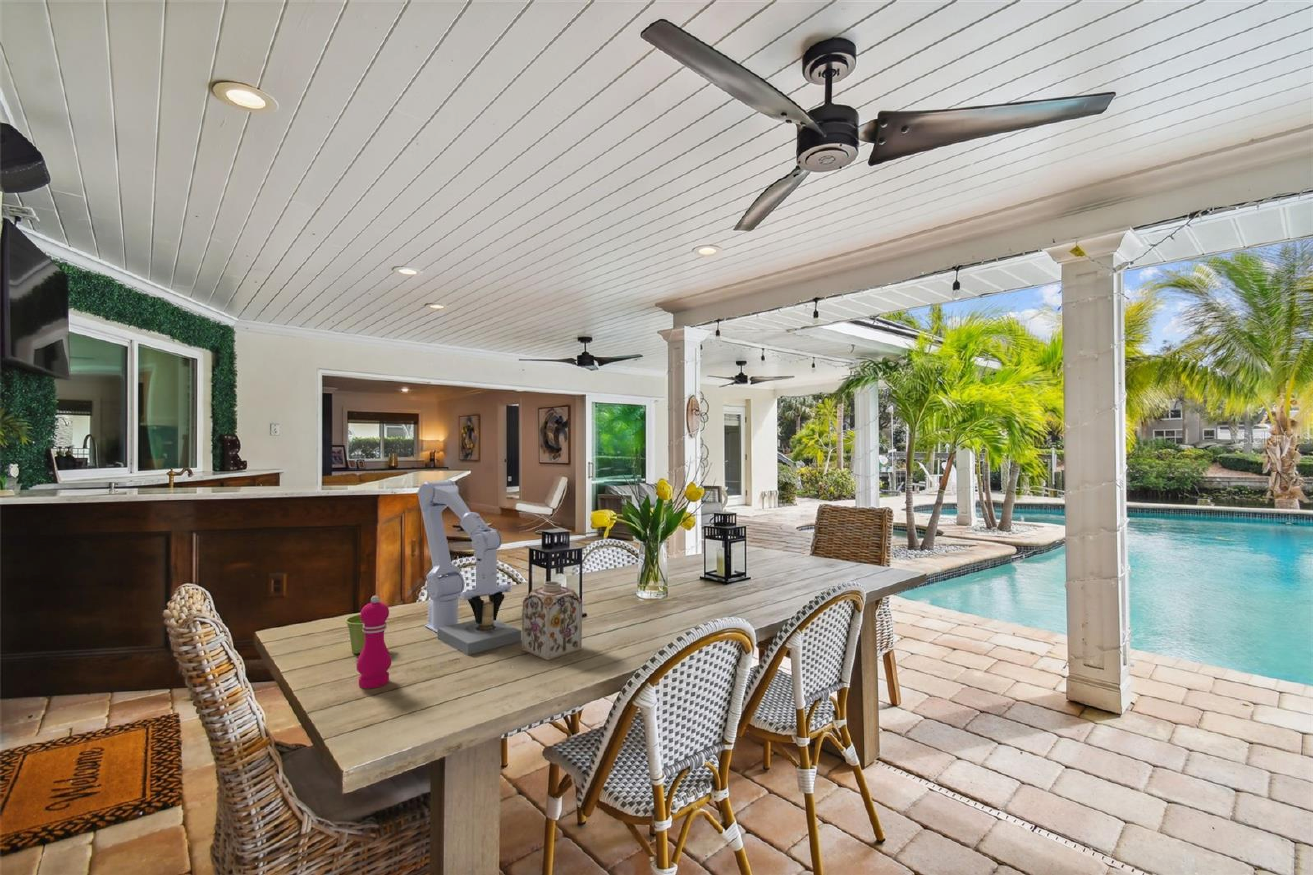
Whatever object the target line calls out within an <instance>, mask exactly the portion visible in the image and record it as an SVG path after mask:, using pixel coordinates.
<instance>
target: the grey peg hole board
mask: <svg viewBox="0 0 1313 875" xmlns="http://www.w3.org/2000/svg"><path fill="white" fill-rule="evenodd" d="M493 623H494V625H493V628H492V630H489V631H480V629H479V624H478V623H476V621H475V619H473V620H469V621H464V622H458V624H454V625H450V626H445V627H441V628H438V633H437V640H438V641H441V642H443V643H445V644H446V645H448V646H449V647H452V648H454V649H455V650H457V651H460V652H462V653H463V654H465V655H466V656H470V655H473V654H478V653H481V652H485V650H486V651H489V650H493V649H497V648H500V646H501V647H504V646H508V645H512V644H515V643H519V642H520V643H521V642H522V629H519V628H517V627H515V626H512V625H510V624H507V623H505V622H503V621H500V620H498V619H496V620H495V621H493Z"/></svg>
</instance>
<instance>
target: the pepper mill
mask: <svg viewBox="0 0 1313 875" xmlns="http://www.w3.org/2000/svg"><path fill="white" fill-rule="evenodd" d="M389 615H390V609H389V607H388V605H387V604H386V603H384V602H381V601H380V597H379V596H378V595H372V597H371V598H370V602H369V603H367V604H366V605H364V606H363V607H362V608H361V610H360V618H361V620H362V622H363V623H364V625H363V630H362V631H363V632H364V633H365V643H364V647H363V649H362V652H361V653H359V656H358V659H357V662H356V670H357V672H358V673H359V674H360V675H359V677H358V686H359V687H360V688H362V689H375V688H380V687H383V686H384V685H387V684H388V683H389V682H390V673H389V671H388V670H389V669H390V668H391V666H392V657H391V654H390V651H389V649H388V648H387V645H386V642H385V631H386V629H387V622H386V621H387V620H388V618H389Z"/></svg>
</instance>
